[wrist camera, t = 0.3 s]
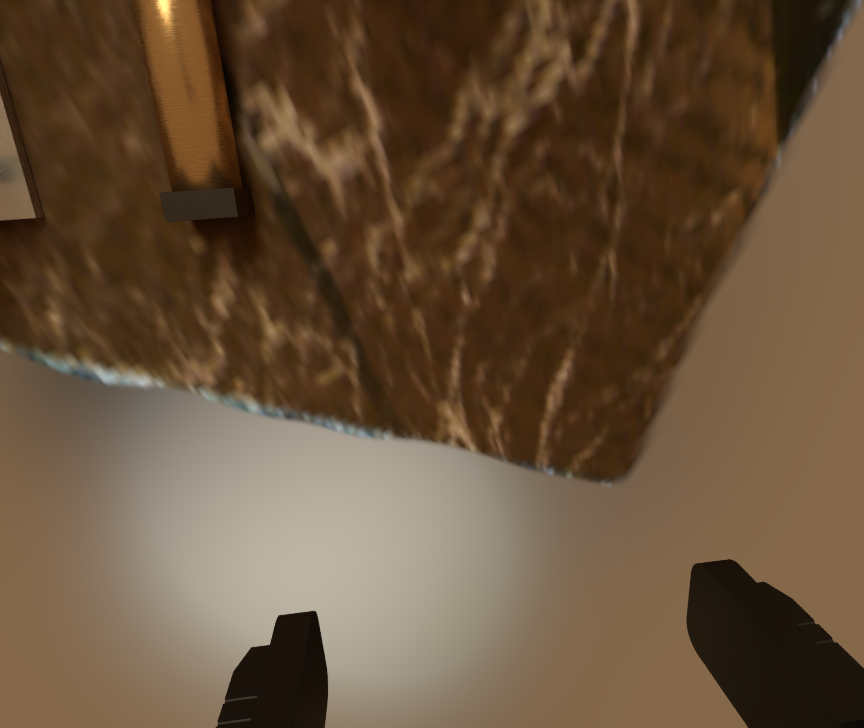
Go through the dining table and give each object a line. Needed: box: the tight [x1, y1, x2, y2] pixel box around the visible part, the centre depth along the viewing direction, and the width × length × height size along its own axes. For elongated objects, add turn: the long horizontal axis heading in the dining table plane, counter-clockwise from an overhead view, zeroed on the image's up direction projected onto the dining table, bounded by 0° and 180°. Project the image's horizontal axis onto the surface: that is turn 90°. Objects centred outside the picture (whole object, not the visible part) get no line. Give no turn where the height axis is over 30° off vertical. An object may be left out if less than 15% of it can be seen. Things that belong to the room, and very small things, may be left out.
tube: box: [132, 0, 255, 222], centre depth 29 cm, size 19×4×4 cm, turn 4°
